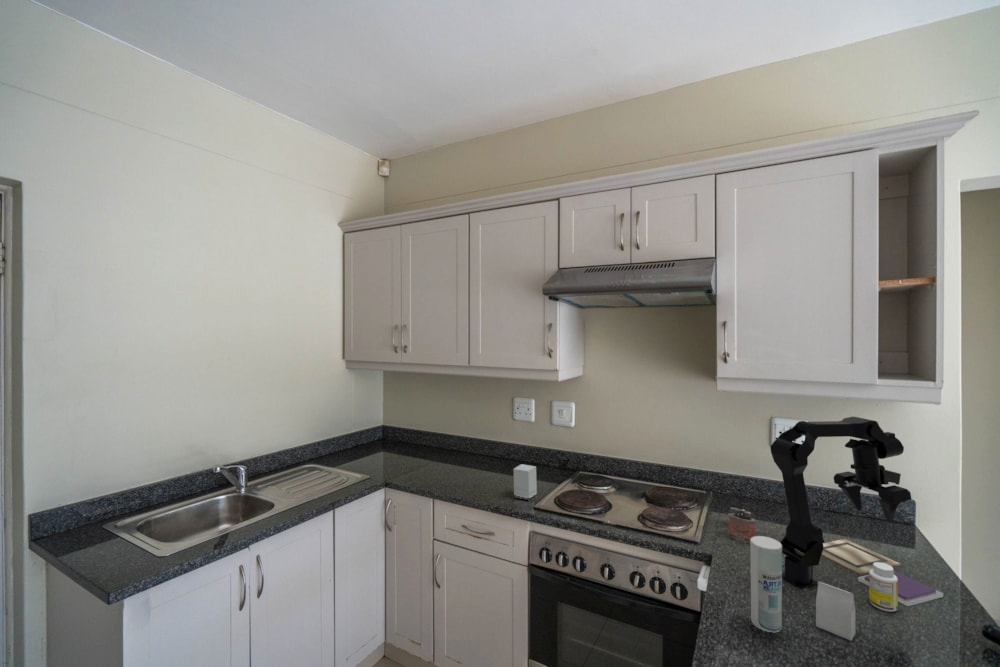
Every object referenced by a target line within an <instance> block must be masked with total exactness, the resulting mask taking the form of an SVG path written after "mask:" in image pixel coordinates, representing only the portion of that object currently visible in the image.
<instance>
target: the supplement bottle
mask: <svg viewBox="0 0 1000 667" xmlns="http://www.w3.org/2000/svg"><path fill="white" fill-rule="evenodd" d="M894 571H895V569H894V567H891V566H890V565H888V564H885V563H881V562H874V563H873V569H871V570H870V571H869V573H868V575H869V586H868V587H869V589H868V592H869V593H868V596H869V597H868V599H869V603H870V604H871V605H872V606H873V607H874V608H876V609H879V610H880V611H885V612H892V613H893V612H897V611H898V608H899V602H898V578H897V577H896V576H895V575H894Z"/></svg>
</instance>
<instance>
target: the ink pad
mask: <svg viewBox="0 0 1000 667" xmlns="http://www.w3.org/2000/svg"><path fill="white" fill-rule="evenodd" d="M894 575H895V576H896V577H897V578H898V603H901V604H902V605H905V607H911V606H915V605H918V604H923V603H926V602H930V601H933V600H938V599H940V598H944V593H943V592H942V591H940V590H937V589H935V588H933V587H930V586H929V585H927V584H924V583H922V582H920V581H918V580H916V579H914V578H911V577H910V576H907V575H905V574H903V573H901V572H898V571H896V570H894ZM857 581H858V582H859V583H862V584H863V585H865V586H868V587H869V574H864V575H862V576H861V575H860V576H858V577H857Z"/></svg>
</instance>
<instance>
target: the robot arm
mask: <svg viewBox="0 0 1000 667" xmlns="http://www.w3.org/2000/svg"><path fill="white" fill-rule="evenodd" d="M803 436H804V441H803V442H802V443H801V444H800V443H798V442H795V440H796V441H797V440H798V439H800V438H802V437H803ZM827 437H829V438H833V437H835V438H838V437H842V438H843V437H850V439H849V440H848V441H847V442H846V443H845V444H844V447H845V448H847V449H851V452H852V459H853V463H852V464H849V465H850V469H852V470H854V472H852V471H844V472H838V473H834V475H833V482H834V484H836V485H837V486H838V488H839V489H841V490H842V492H843V493H844V494H845V495H846V497H847V498H848V500H849V501H850V502H851V504H852V505H853V507H854V508H855V509H856V511H862V507H863V506H862V497H861V491H862V488H865V489H867V490H870V491H873V492H876V493H877V495H878V497H879V498H880V499H878V502H879V504H880V507H881V510H882V513H883V515H884V518H885V520H886V522H887V523H890V524H891V523H892V522H893V521H894V518H895V515H896V511H897V509H898V507H899V505H900V504H901V503H905V502H907V501H912V493H911V491H910V490H908V489H907V488H904V487H900V486H898V485H900V482H901V477H902V476H901V475H902V474H901V473H899V472H895V471H892V470H888V469H885V468H886V467H885V466H884V465H882V464H880V460H884V459H888V458H894V457H897V456H901V455H902V454H903V453H904V449H905V447H904V445H903V443H902V441H901V440H900V439H898V438H897V437H896V434H895V433H894V432H889V431H884V429H882V428H881V427H880V424H879V423H878V421H876V420H872V419H868V418H865V417H864V418H863V417H859V416H848V417H844V418H843V419H842V420H838V421H837V420H835V421H834V420H833V421H831V420H830V421H824V420H823V421H822V420H821V421H806V420H800V421H797V423H795V424H794V425H793V427H791V428H789V429H787V430H785V431H783V432H781V434H779V436H778V437H777V438H776V439H775V440H774V441H773V443H772V444H771V445H770V453H771V457H772V459H773V462H774V463H775V465H776V466H777V468H778V469H779V470H780V471H781V475H782V480H783V486H784V492H785V497H786V504H787V508H788V515H789V522H788V523H787V525H786V527H785V536H784V537H783V538H782V539H781V540H780V541H779V542H780V543H781V545H782V555H785V556H784V573H783V572H782V579H784V580H785V581H787V582H789V583H790V584H792V585H794V587H797V588H798V589H803V588H808V587H812V586H818V581H816V580H815V579H813V577H814V566H815V567H816V566H819V564H820V561H821V559H822V552H823V543H826V542H825V540H824V532H823V529H822V528H821V527H819V526H816V525H815V524H813V522H812V518H811V517H812V516H811V512H810V506H809V502H808V501H809V500H808V494H807V490H806V483H805V478H804V472H805V470H806V468H807V466H808V465H809V464H808V457H809V456H810V455H811V454H812V453H813V452H814V450H815V444H816V440H817V439H818V438H827ZM851 437H852V438H851ZM854 438H855V439H854ZM879 459H880V460H879ZM889 483H892V484H895V485H889ZM883 485H885V486H883ZM886 485H889V486H886Z"/></svg>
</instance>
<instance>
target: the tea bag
mask: <svg viewBox="0 0 1000 667" xmlns="http://www.w3.org/2000/svg"><path fill="white" fill-rule="evenodd" d="M817 583H818V584H817V592H816V597H815V598H816V599H815V627H817V628H820V629H822V630H824V631H826V632H829V633H832V634H833V635H835V636H839V637H841V638H843V639H846V640H848V641H850V642H852V641H853V639H854V637H855V635H856V605H855V604H856V602H855V594H854V593H853V592H850V591H847V590H844V589H841V588H839V587H837V586H836V587H835V586H833V585H830V584H827V583H826V582H822V581H817Z"/></svg>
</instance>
